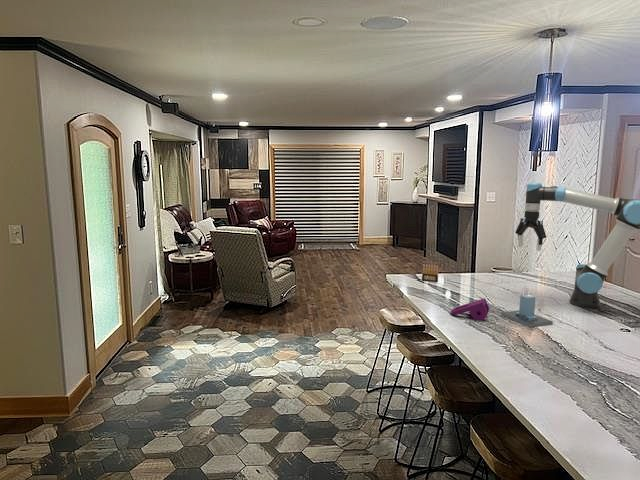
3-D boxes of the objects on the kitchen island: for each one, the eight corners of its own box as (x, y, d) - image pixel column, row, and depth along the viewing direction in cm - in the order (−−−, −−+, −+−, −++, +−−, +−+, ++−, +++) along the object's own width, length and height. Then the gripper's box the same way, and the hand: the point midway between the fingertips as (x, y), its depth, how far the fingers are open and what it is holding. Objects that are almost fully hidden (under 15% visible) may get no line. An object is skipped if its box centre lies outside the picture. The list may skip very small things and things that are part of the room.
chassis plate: (501, 315, 248) (501, 312, 247) (522, 312, 253) (522, 309, 252) (530, 327, 229) (530, 323, 229) (552, 324, 234) (552, 320, 234)
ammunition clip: (438, 281, 320) (438, 264, 318) (437, 282, 318) (438, 264, 316) (422, 280, 324) (422, 263, 322) (421, 280, 322) (422, 263, 320)
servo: (515, 316, 245) (516, 292, 243) (522, 315, 246) (524, 292, 245) (529, 322, 236) (531, 297, 234) (537, 321, 237) (539, 297, 235)
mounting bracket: (455, 328, 245) (489, 318, 237) (448, 312, 246) (482, 302, 237) (458, 322, 253) (491, 313, 245) (452, 308, 254) (485, 298, 246)
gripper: (510, 209, 274) (507, 245, 277) (544, 213, 251) (541, 252, 254) (520, 208, 276) (517, 244, 279) (555, 212, 253) (552, 251, 256)
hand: (529, 248), depth 267 cm, fingers open, 13 cm apart
